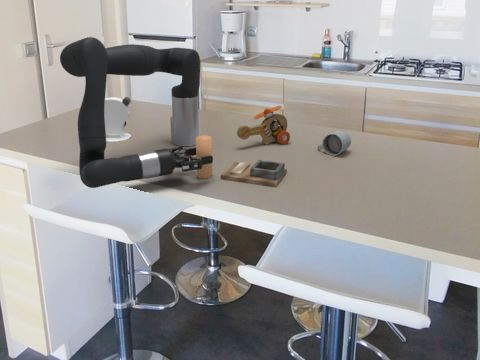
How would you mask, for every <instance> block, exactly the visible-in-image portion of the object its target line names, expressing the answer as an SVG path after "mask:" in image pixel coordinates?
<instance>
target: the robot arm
mask: <svg viewBox="0 0 480 360" xmlns="http://www.w3.org/2000/svg"><path fill="white" fill-rule="evenodd" d="M59 62H60V64H61V65H60V66H62V68H63V70H64V71H66V73H67V74H69V75H71V76H73V77H77V78H84V79H85V87H84V93H83V97H82V101H81V105H80V109H79V112H78V114H77V115H78V116H77V117H78V118H77V132H78V136H77V137H78V145H79V166H78V168H79V169H78V170H79V177H80V180H81V183H82V184H83V185H84V186H86V187H87V188H91V189H97V188H100V187H104V186H109V185H112V184H116V183H117V184H118V183H121V182H125V183H126V182H133V181H138V180H142V179H144V180H145V179H153V178H158V177H163V176H168V175H172V174H173V173H174V171H175V169H181V172H183V173H185V172H192V171H197V170H198V169H202V165H205V164H210V163H212V164H213V163H214V157H213V155H212V156H211V155H210V156H204V157H196V137H197V136H200V121H199V120H200V118H199V115H200V114H199V110H200V109H199V89H200V86H201V57H200V55H199V53H198V51H197V50H196V49H194V48H187V47H186V48H185V47H168V48H156V47H155V48H154V47H153V46H150V45H145V44H133V43H132V44H129V43H128V44H123V45H122V44H121V45H116V46H114V45H113V46H110V47H105V45H104V44H103V42H102V41H101V40H100V39H98V38H96V37H92V36H88V37H84V38H81V39H79V40H76V41H73V42H72V43H69V44H68V45H66V46H65V47H64V48H63V49H62V50H61V52H60V55H59ZM155 73H165V74H170V75H174V76H180V77H181V82H180V84H177V85H174V86H172V88H171V107H172V109H171V110H172V114H171V115H172V116H171V117H170V119H169V121H170V135H171V136H170V139H171V140H170V141H171V143H170V144H173V145H176V146H178V147H172V148H160V149H154V150H149V151H144V152H143V151H142V152H140V153H136V154H130V155H123V156H120V157H114V158H113V157H112V158H105V151H106V148H107V142H106V131H105V118H104V106H105V99H106V93H107V92H106V90H107V75H112V76H132V77H135V76H136V77H137V76H138V77H141V76H143V77H144V76H150V75H153V74H155ZM192 146H195V147H192ZM187 147H190V148H187Z"/></svg>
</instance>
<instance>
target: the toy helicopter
mask: <svg viewBox="0 0 480 360" xmlns="http://www.w3.org/2000/svg"><path fill="white" fill-rule="evenodd" d="M281 109H282V105H276V106H274V107H271V108H265V109H264V110H263V111H262V112H260V113H258V114H256V115H254V116H253V117H252V119H253V120H255V121H256V120H259V119H260V118H263V117H264V120H263V121H262V122H261V123H260V124H257V125H251V126H248V125H245V124H244V125H243V124H242V125H240V126H239V127H238V128H237V130H236V135H237V137H238V138H239V139H241V140H248V139H249V138H250V137H252V136H259V135H260V137H261V138H262V140H261V141H262V143H263V144H264V145H265V146H266V145H269V144H270V143H272V142H273V143H274V142H278V143H279V144H280V145H287V143H289V142H290V138H291V136H290V135H291V134H290V133H289V132H288V131H287V129H288V119H287V117H285V115H283V114H280V113H274V112H275V111H278V110H281Z"/></svg>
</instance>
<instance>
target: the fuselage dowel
mask: <svg viewBox="0 0 480 360" xmlns="http://www.w3.org/2000/svg"><path fill="white" fill-rule="evenodd" d="M212 139H213V138H212V136H210V135H205V134H204V135H203V134H202V135H199V136H197V137H196V145H195V147H196V155H195V157H204V156H210V155H211V156H212V157H213V147H212V146H213V145H212V144H213V142H212V141H213V140H212ZM196 177H197V178H199V179H203V180H204V179H205V180H206V179H210V178H212V177H213V163H210V164H205V165H202V169H198V170H196Z"/></svg>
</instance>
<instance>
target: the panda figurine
mask: <svg viewBox="0 0 480 360" xmlns="http://www.w3.org/2000/svg"><path fill="white" fill-rule="evenodd" d="M130 104H131V98H130V97H128V96H125V97H124V98H120V97H116V96H113V97H112V96H111V97H105V106H104V118H105V131H106V141H108V142H107V143H119V142H118V141H121V142H125V141H128V140H130V139H131V138H130V137H132V136H131V134H130V133H127V132H125V127H126V126H127V120H128V119H129V117H130V115H131V108H130V106H129V105H130ZM129 138H130V139H129ZM127 139H128V140H127ZM124 140H125V141H124Z"/></svg>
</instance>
